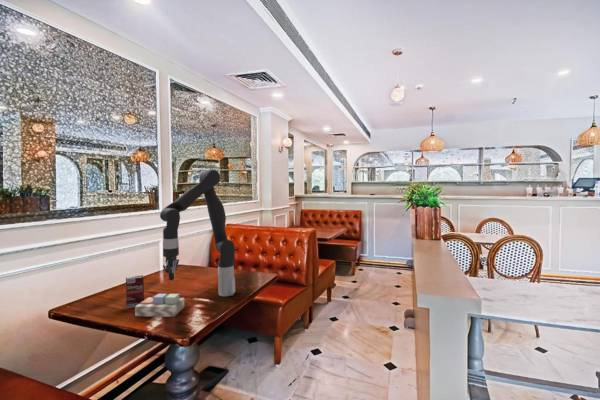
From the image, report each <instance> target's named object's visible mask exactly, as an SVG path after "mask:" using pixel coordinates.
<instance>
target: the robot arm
mask: <svg viewBox="0 0 600 400" xmlns="http://www.w3.org/2000/svg"><path fill="white" fill-rule="evenodd" d="M198 177H199V178H198V181H199V182H198V183H196V185H194V186H193V187H191V188H189V189H188V190H186V191H184V193H183V194H181V195H180V196H179V197H177V199H175V200H174V201H173V202H172V203H170V204H168V205H167V206H165V207H164V208H162V210H161V211H160V214H159V217H160V220H162V221H164V222H166V224H165V225H166V226H165V227H164V228H163V230H162V256H163V257H164V258H165V264H163V265H162V267H163V269H164V271H165V273H166V274H168V280H169V281H174V280H175V273H176V271H177V269H178V267H179V266H178V265H179V263H180V259H178V256H179V255H180V249H179V248H180V247H179V246H180V245H179V233H178V231H179V227H180V222H181V221H180V220H181V214H180V213H181V212H184V211H186V210H187V209H188V208H189V207H190V206H192V204H193V203H194V202H195V201H197V200H198V199H199V198H200V197H201V196H202V195H203V196H204V200H205V204H206V208H207V212H208V216H209V220H210V221H209V222H210V225H211V228H212V233H213V238H214V246H215V249H216V250H215V251H216V252H217V253H219V258H220V259H219V260H218V262H217V281H218V283H217V284H218V286H217V287H218V296H220V297H230V296H234V294H235V293H236V277H235V271H234V270H235V267H234V266H235V265H234V263H235V259H236V246H235V243H234V241H232V240H231V239H229V238H228V236H227V233H226V221H227V215H226V211H225V207H224V205H223V203H222V201H221V199H220V198H219V196H218V195H217V193H216V190H215V186H217V184H219V183H220V182H221V174H220V172H219V171H217V170H216V169H208V170H207V169H206V170H202V171H201V172H200V174H199V176H198Z"/></svg>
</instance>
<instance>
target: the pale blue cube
mask: <svg viewBox="0 0 600 400" xmlns="http://www.w3.org/2000/svg"><path fill="white" fill-rule="evenodd" d="M166 296H168V293H157V294H155V295H154V296H152V298H153V304H164V303H165V297H166Z"/></svg>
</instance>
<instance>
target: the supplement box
mask: <svg viewBox="0 0 600 400" xmlns="http://www.w3.org/2000/svg"><path fill="white" fill-rule="evenodd" d="M144 282H145V281H144V275H143V274H142V275H134V276H128V277H127V276H126V277H125V295H126V299H125V300H126V301H125V302H126V303H125V305H126V309H131V308H135V306H136V305H138V304H139V303H141V302H142V301H144V300H145V288H144V287H145V286H144V285H145V283H144Z"/></svg>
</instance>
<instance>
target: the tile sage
mask: <svg viewBox="0 0 600 400" xmlns="http://www.w3.org/2000/svg"><path fill="white" fill-rule="evenodd" d="M179 298H180V293H169V294H167V296H166V297H165V304H171V305H176V304H177V303H178V302H179Z"/></svg>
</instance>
